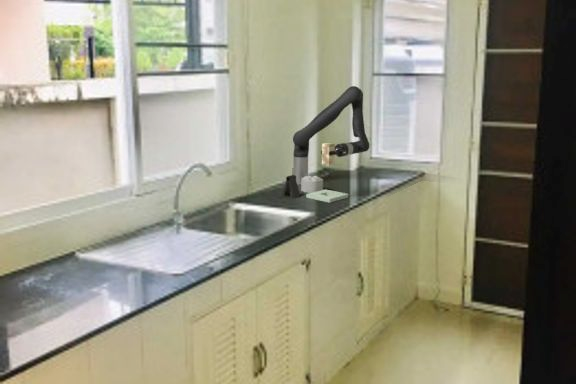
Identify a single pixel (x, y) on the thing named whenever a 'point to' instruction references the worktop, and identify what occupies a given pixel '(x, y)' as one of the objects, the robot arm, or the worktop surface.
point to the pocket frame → (327, 195)
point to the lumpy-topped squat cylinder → (311, 184)
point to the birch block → (327, 154)
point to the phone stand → (291, 187)
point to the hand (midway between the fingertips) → (325, 153)
